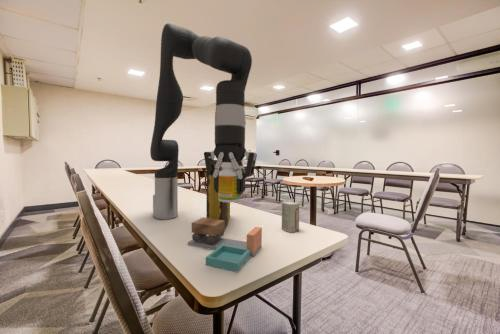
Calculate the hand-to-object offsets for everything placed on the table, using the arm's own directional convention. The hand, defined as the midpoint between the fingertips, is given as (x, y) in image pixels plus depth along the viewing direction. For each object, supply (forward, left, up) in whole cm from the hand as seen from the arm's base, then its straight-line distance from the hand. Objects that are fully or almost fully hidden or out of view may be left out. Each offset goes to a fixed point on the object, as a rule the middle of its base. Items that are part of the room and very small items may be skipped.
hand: (229, 192), depth 56 cm
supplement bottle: (0, 0, -2) cm, 2 cm away
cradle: (0, 0, -18) cm, 18 cm away
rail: (-5, +8, -18) cm, 20 cm away
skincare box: (+10, +30, -18) cm, 36 cm away
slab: (-11, +8, -16) cm, 21 cm away
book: (-17, +26, -18) cm, 36 cm away
